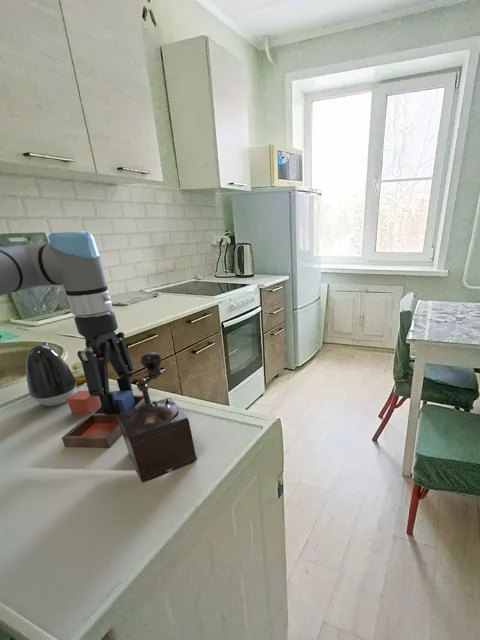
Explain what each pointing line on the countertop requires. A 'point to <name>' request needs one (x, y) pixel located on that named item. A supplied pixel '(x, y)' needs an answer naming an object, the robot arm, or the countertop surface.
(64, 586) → the countertop surface
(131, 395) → the slate-blue block
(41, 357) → the black tapered dome
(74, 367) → the decorated donut
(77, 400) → the terracotta block
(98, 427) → the tray
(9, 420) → the countertop surface
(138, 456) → the manual coffee grinder
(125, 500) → the countertop surface
